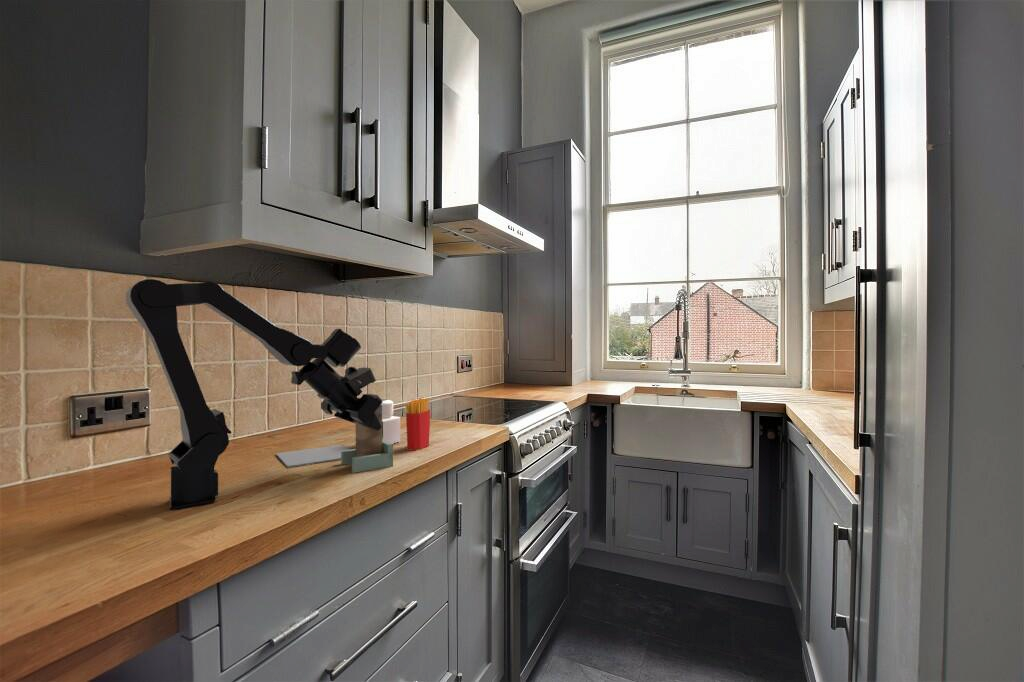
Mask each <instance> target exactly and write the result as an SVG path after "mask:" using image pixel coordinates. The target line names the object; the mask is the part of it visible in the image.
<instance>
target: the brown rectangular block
mask: <svg viewBox="0 0 1024 682" xmlns="http://www.w3.org/2000/svg"><path fill="white" fill-rule="evenodd" d="M375 414H376V416H377V418H378V420H379V422H380V424H381V426H382V405H380V406H379V407H378V409H377V410H376V411H375ZM355 449H356V457H361V456H367V455H374V454H380V453H382V427H381V429H380V430H379V431H378V430H375V429H372V428H370V427H367V426H364V425H362V424H359V423H356V424H355Z"/></svg>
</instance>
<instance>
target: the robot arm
mask: <svg viewBox="0 0 1024 682" xmlns="http://www.w3.org/2000/svg"><path fill="white" fill-rule="evenodd" d="M124 298H125V302H126V303H125V304H126V306H127V307H128V309H130V311H131V313H132V314H133V316H134V318H135V319H136V320H137V322H138V323H139V324H140V325H141V327H142V328H143V330H144V332H146V333H147V335H148V336H149V338H150V340H151V343H152V345H153V348H154V350H155V353H156V354H157V357H158V360H159V362H160V364H161V369H162V370H163V372H164V374H165V375H164V376H165V378H166V379H167V382H168V383H167V384H168V385H169V387H170V389H171V393H172V395H173V398H174V399H175V402H176V406H177V408H178V409H179V418H180V422H179V423H180V430H181V437H182V440H181V441H180V442H179V443H178V444H177V445H176V446H175V447H174V448H172V450H171V451H169V452H168V455H167V456H168V458H169V460H170V462H171V464H172V465H174V466H171V467H170V497H169V509H170V510H177V509H182V508H187V507H193V506H198V505H204V504H210V503H215V502H216V501H217V499H216V497H217V496H218V495H219V471H218V470H217V469H215V466H216V464H217V461H218V459H219V456H221V455H222V454H223V453H224V452H225V451H226V450H227V447H228V446H229V444H230V438H229V435H230V434H232V433H233V432H232V431H231V430H230V429H229V428H228V426H227V423H226V418H225V417H226V416H225V413H224V412H223V411H220V410H218V409H216V408H213V409H210V407H209V406H208V404H207V402H206V399H205V396H204V394H203V391H202V389H201V386H200V384H199V381H198V379H197V375H196V373H195V371H194V368H193V366H192V363H191V361H190V357H189V356H188V352H187V350H186V348H185V345H184V343H183V340H182V337H181V334H180V332H179V327H178V326H179V324H178V323H179V322H178V309H177V307H185V306H196V305H204V306H206V307H207V308H209V309H211V310H212V311H213V312H215V313H217V314H218V315H220V316H221V317H223V319H226V320H227V321H228V322H230V323H232V324H233V325H235V326H236V327H238V328H239V329H240V330H242V331H243V332H246V333H247V334H248V335H250V336H251V337H253V338H255V339H256V340H258V342H260V343H261V345H262V346H264V348H265V349H266V350H267V351H268V353H270V355H272V356H273V357H274V358H275V359H276V360H277V361H278V362H280V364H283V365H285V366H291V367H301V368H299V369H298V370H292V371H291V372H290V373H291V379H290V380H291V381H290V382H291V383H290V384H292V385H297V386H301V385H302V384H303V382H305V383H306V384H307V385H308V386H309V387H310V388H311V389H312V390H313V391H315V392H316V393H317V395H316V396H317V397H318V398H319V399H322V400H323V401H321V402H320V410H322V411H323V412H324V413H325V414H327V415H330V416H332V414H333V413H334V412H335V413H334V414H333V416H334V417H335V418H338V419H341V420H344V421H347V422H350V423H353V424H355V425H356V423H359V424H362V425H364V426H367V427H370V428H372V429H375V430H378V431H379V430H380V429H381V427H382V426H381V424H380V422H379V420H378V418H377V416H376V414H375V411H376V410H377V409H378V407H379V406H380V405H381V404H382V401H383V400H384V399H382V397H380V396H379V395H378V394H374V393H363V390H362V389H363V388H365V387H366V386H367V387H368V385H370V384H374V383H375V382H376V381H377V380H376V377H375V375H374V371H372V369H371V367H357V368H356V367H355V366H349V367H347V368H345V369H344V376H343V375H342V376H341V374H339V373H338V372H337V371H336V370H335V368H338V367H341V368H344V367H345V366H346V365H347V364H348V363H349V362H350V361H351V360H352V358H354V356H355V355H356V354H357V353H358V352H359V351H360V350H361V349H362V347H361V344H360V342H359V341H358V340H357V338H355V337H352V335H350V334H348V333H346V332H344V331H343V330H342V329H341V328H335V329H334V330H333V331H332V332H331V334H329V336H328V337H327V338H326V339H325V340H324V341H323V342H322V343H321V344H318V343H317V344H313V343H312V342H311V341H310V340H308V339H306V338H305V337H303V336H300V335H298V334H297V333H295V332H293V331H289V330H287V329H285V328H281V327H279V326H277V325H276V324H274V323H272V322H271V321H270V320H268V319H267V318H265V317H264V316H262V315H261V314H260V313H258V312H257V311H255V310H254V309H253V308H252V307H250V306H248V305H247V304H245V303H244V302H243V301H241V300H239V299H238V298H237V297H235V296H234V295H233V294H231V293H230V292H228V291H227V290H226V289H224V287H222V286H221V285H220V284H219V283H218V282H215V281H210V280H209V281H205V282H196V283H195V282H193V283H190V282H189V283H188V282H186V283H185V282H184V283H165V282H163V281H162V280H158V279H154V278H147V279H143V280H141V281H140V280H139V281H138V282H136V283H134V284H133V285H132V286H130V287H129V288H128V290H127V291H126V293H125V297H124ZM362 393H363V394H362ZM361 394H362V395H361ZM360 395H361V397H358V396H360ZM333 411H334V412H333Z"/></svg>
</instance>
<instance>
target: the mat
mask: <svg viewBox="0 0 1024 682" xmlns="http://www.w3.org/2000/svg"><path fill="white" fill-rule="evenodd" d="M344 450H351V449H350V448H348V447H347V446H344V445H343V444H338V445H337V444H336V445H331V446H322V447H314V448H308V449H307V448H306V449H300V450H291V451H285V452H284V451H283V452H276V453H275V456H276V455H277V456H278V457H279V458H278V457H277V456H276V457H277V458H278V459H279V460H280V461H281V462H282V463H283V464H284V466H286V468H287V469H289V467H291V468H297V467H302V466H301V465H304V466H308V465H307V464H310V465H315V464H314V463H317V464H322V463H321V462H323V463H328V462H327V461H330V462H335V460H337V461H341V451H344ZM296 466H297V467H296Z"/></svg>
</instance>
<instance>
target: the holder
mask: <svg viewBox="0 0 1024 682" xmlns="http://www.w3.org/2000/svg"><path fill="white" fill-rule="evenodd" d="M340 464H341V465H343V466H345V464H346V465H350V464H351V473H352V474H353V473H355V472H356V473H361V472H360V471H362V472H367V471H373V470H378V468H379V469H384V468H383V467H385V468H390V467H389V466H391V467H393V466H394V444H392V443H390V442H387V441H385V440H383V439H382V453H380V454H374V455H367V456H361V457H356V448H353V449H352V448H351V449H350V450H344V451H341V460H340ZM372 469H373V470H372ZM356 473H355V474H356Z"/></svg>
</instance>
